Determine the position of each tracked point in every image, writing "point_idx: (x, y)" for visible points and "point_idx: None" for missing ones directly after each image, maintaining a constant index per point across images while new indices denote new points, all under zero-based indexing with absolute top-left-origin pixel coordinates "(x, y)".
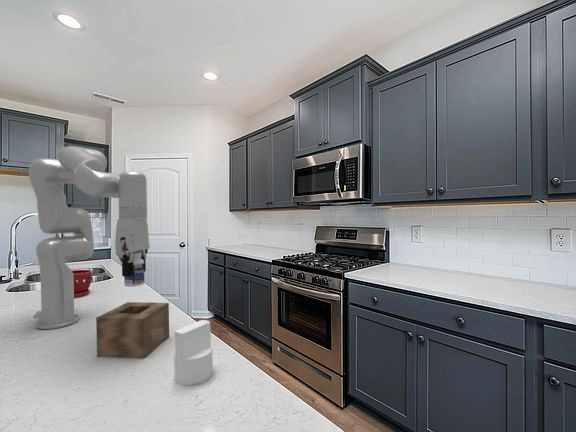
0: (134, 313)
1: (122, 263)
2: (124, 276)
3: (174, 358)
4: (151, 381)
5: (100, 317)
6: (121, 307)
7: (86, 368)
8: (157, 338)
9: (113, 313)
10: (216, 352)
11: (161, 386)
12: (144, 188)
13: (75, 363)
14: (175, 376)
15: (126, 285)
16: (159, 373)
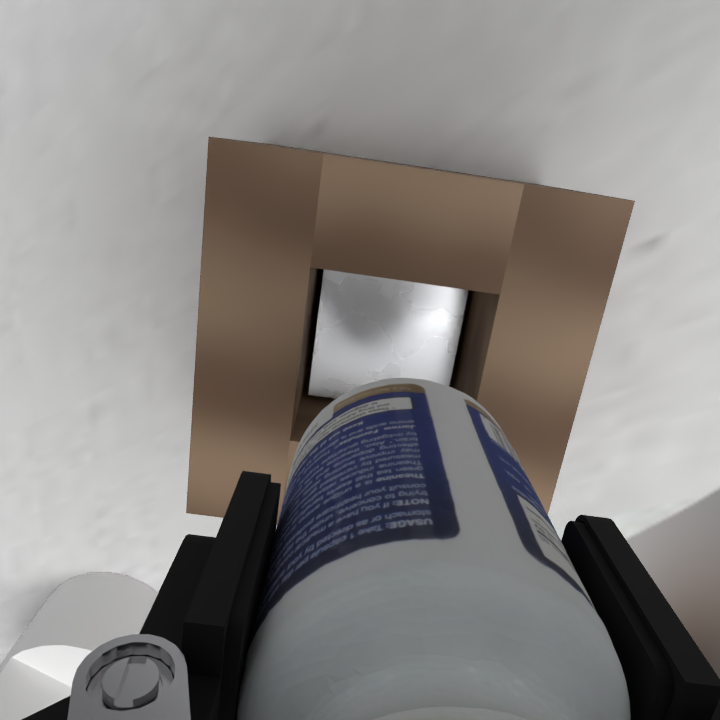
0: (481, 305)
1: (190, 618)
2: (326, 451)
3: (29, 640)
4: (53, 503)
5: (212, 174)
6: (468, 223)
7: (139, 163)
8: None
9: (308, 234)
10: None
11: (25, 548)
12: None
13: (188, 61)
14: (55, 594)
15: (304, 434)
16: (111, 512)
